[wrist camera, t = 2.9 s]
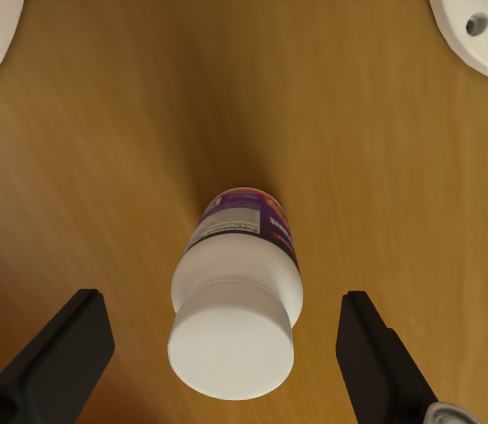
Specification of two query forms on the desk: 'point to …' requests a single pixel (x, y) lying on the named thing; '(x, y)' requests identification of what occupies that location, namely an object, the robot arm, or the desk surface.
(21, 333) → the desk surface
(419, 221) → the desk surface
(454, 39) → the robot arm
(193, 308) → the pill bottle
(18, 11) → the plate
